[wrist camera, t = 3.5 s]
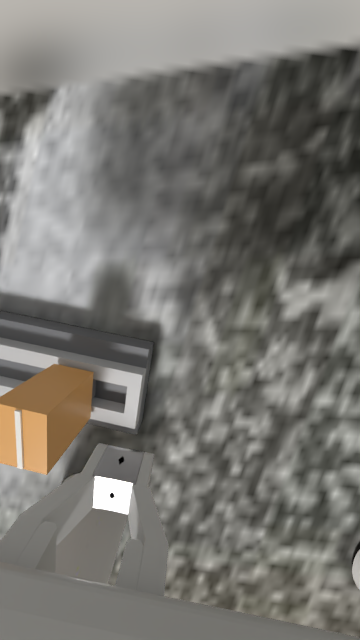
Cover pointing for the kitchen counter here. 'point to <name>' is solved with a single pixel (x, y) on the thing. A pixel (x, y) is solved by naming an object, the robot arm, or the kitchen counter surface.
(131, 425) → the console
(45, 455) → the fader
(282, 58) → the kitchen counter surface
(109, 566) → the light grey cylinder
